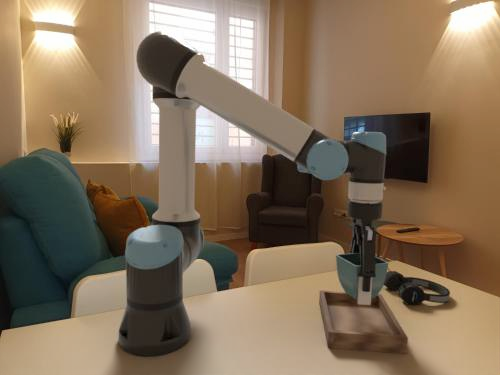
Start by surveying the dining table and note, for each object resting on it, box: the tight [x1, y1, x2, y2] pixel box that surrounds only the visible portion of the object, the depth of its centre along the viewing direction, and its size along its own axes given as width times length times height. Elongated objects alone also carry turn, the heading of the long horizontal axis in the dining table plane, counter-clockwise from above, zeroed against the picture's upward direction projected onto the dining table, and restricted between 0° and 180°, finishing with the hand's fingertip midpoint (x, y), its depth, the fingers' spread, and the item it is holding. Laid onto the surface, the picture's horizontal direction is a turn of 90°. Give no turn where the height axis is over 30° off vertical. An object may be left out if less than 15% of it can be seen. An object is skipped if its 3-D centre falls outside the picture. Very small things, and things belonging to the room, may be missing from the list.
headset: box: [383, 267, 451, 306], centre depth 106 cm, size 14×10×20 cm
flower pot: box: [335, 252, 389, 300], centre depth 87 cm, size 9×9×9 cm
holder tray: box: [318, 289, 409, 355], centre depth 88 cm, size 16×22×4 cm
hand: (359, 294), depth 88 cm, fingers closed on flower pot, 10 cm apart
